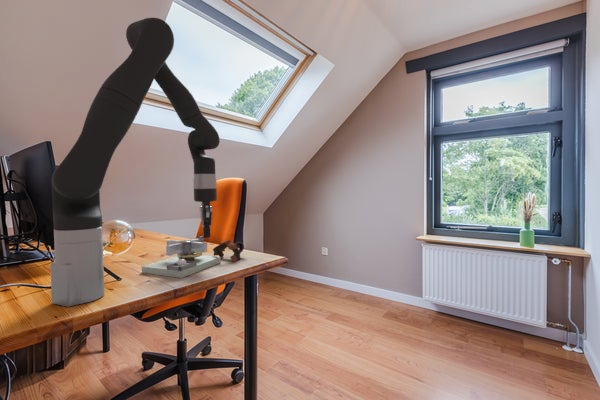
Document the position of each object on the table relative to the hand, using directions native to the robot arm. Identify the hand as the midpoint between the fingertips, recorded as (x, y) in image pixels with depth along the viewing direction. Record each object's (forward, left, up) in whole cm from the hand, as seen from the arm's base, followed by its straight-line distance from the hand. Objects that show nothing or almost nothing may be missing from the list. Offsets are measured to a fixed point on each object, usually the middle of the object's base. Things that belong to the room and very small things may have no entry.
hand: (206, 237), depth 99 cm
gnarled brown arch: (+10, -2, -10) cm, 15 cm away
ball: (-11, +1, -6) cm, 13 cm away
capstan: (-5, +5, -8) cm, 10 cm away
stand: (-5, +6, -10) cm, 12 cm away
